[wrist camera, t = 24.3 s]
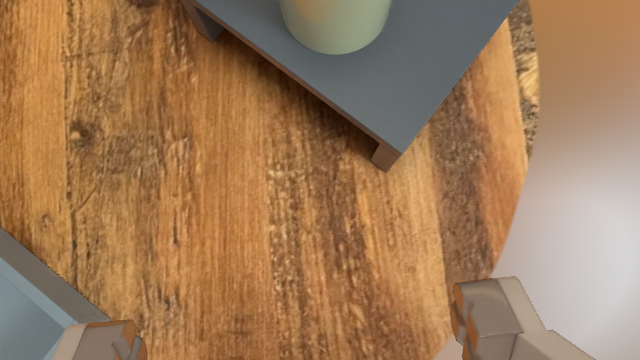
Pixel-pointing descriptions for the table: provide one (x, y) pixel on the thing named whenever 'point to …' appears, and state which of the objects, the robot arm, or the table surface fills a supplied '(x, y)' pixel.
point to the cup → (335, 23)
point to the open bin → (35, 304)
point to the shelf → (370, 60)
